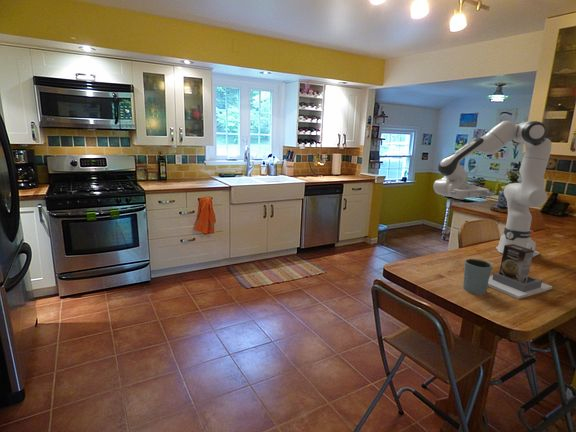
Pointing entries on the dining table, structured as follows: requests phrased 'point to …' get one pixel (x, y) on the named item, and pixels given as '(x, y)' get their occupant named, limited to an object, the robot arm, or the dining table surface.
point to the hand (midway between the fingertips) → (485, 195)
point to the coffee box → (516, 262)
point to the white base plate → (517, 286)
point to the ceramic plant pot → (476, 276)
